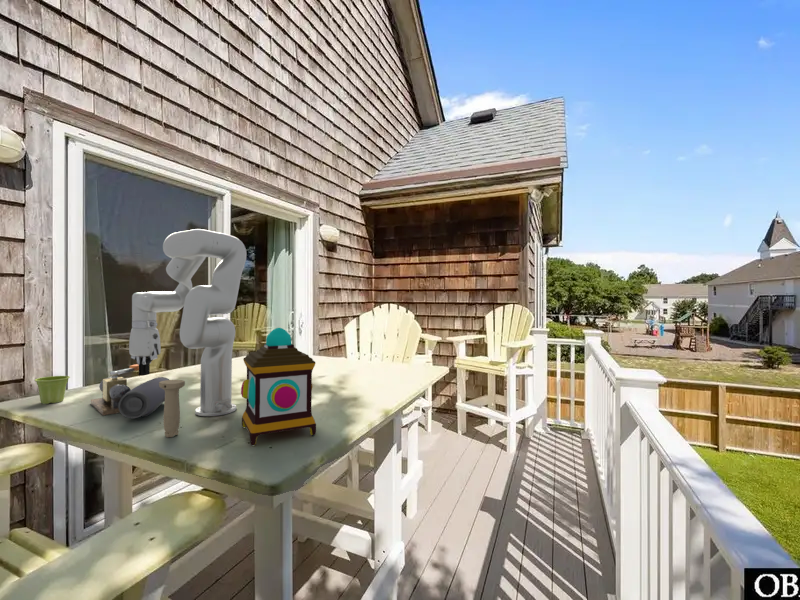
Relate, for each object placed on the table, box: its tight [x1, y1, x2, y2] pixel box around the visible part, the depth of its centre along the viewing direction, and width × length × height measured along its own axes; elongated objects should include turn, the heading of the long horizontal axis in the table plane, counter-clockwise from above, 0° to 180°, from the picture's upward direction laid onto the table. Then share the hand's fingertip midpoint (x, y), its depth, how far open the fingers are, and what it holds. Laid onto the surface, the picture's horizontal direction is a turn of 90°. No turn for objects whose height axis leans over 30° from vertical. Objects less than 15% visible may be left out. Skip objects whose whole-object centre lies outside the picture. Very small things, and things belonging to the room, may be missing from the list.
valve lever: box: [109, 363, 139, 377], centre depth 140 cm, size 14×3×2 cm, turn 174°
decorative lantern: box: [240, 327, 317, 446], centre depth 110 cm, size 20×20×30 cm
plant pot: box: [34, 375, 71, 405], centre depth 139 cm, size 9×9×9 cm
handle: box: [159, 379, 186, 438], centre depth 106 cm, size 5×6×15 cm
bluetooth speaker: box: [118, 376, 170, 419], centre depth 128 cm, size 23×9×10 cm, turn 13°
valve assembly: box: [90, 375, 132, 416], centre depth 135 cm, size 20×12×11 cm, turn 48°
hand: (144, 374), depth 143 cm, fingers closed
